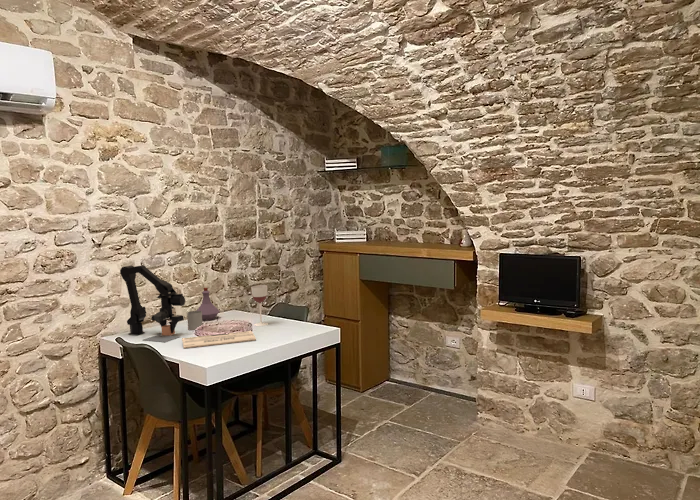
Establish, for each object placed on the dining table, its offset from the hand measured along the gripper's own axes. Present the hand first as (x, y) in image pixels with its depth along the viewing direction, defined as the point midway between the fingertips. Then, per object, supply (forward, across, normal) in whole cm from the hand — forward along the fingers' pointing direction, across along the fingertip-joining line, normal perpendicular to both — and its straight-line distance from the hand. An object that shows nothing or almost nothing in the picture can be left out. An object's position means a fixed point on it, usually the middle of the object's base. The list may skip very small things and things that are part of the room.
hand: (168, 332), depth 314 cm
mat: (+1, +3, -9) cm, 10 cm away
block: (+1, 0, 0) cm, 1 cm away
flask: (+1, -5, +41) cm, 41 cm away
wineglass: (+1, +38, +37) cm, 53 cm away
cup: (+1, +6, +16) cm, 17 cm away
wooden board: (+2, +38, -4) cm, 38 cm away
